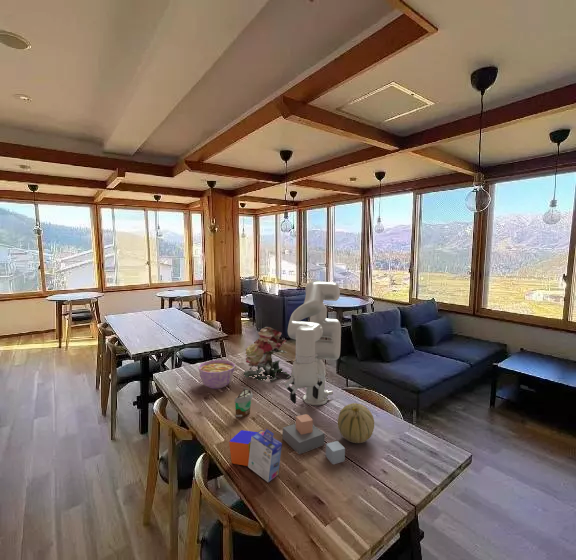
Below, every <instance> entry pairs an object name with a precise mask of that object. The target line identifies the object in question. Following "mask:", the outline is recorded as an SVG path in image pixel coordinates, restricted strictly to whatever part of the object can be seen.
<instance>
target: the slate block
mask: <svg viewBox="0 0 576 560" xmlns="http://www.w3.org/2000/svg"><path fill="white" fill-rule="evenodd" d="M345 456H346V448H345V447H344V446H343V445H342V443H340V442H339V440H335V441H331V442H327V443H325V457H326V459H327V460H328V461H329V462H330V463H331V464H332V465H336V464H339V463H344V462H345Z"/></svg>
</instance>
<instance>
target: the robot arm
mask: <svg viewBox="0 0 576 560" xmlns="http://www.w3.org/2000/svg"><path fill="white" fill-rule="evenodd" d="M340 294H341V290H340V287H339V284H338V283H336V282H333V281H312V282H311V283H309V284H307V285H306V286H305V297H304V301H303V304H301V305H299V306H298V307H297V308H296V309H294V311H293V312H292V313H291V316H290V318H289V321H288V326H287V335H288V337H289V338H290V339H293V340H295V360H294V361H292V366H291V373H290V375H291V377H289V378H288V379H287V380H286V381H285V382H284V383H283V384H284V387H285V388H286V389H287V391H288V392H290V393H289V394H290V395H289V398H290V399H289V400H290V401H291V402H292V403H293V404H294V405H295V404H296V403H297V394H296V392H297V391H298V389H304V388H305V389H306V390H305V394H304V395H302V400H303V402H304V403H306V404H307V405H311V406H322V405H325V404H326V403H328V401H329V399H328V396H333V395H334V391H333V390H328V389H326V366H325V363H324V361H323V360H327V361H328V360H329V361H337V360H338V359H340V356H341V344H342V343H341V342H342V341H341V339H342V338H341V337H342V326H341V325H342V324H341V322H340V320H338V319H337V318H327V316H328V309H327V307H326V305H325V303H324V301H327V302H329V301H331V302H337V301H338V300H339V299H340ZM306 318H309V321H302V320H304V319H306ZM321 338H330V339H331V340H330V339H329V340H328V339H321ZM290 385H291V386H290Z"/></svg>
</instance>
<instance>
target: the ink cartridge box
mask: <svg viewBox="0 0 576 560" xmlns="http://www.w3.org/2000/svg"><path fill="white" fill-rule="evenodd" d="M257 432H258V433H256V434H255V435H253V436H251V445H250V454H249V463H248V466H247V468H249V469H250V470H251V471H253V472H254V473H255V474H256V475H258V476H259V477H261V478H262V479H263V480H264V481H265V482H266V483H270V482H271V481H273V480H274V479H275V478H276V477H277V476H279V471H280V463H281V455H282V447H283V442H281V441H280V440H278V439H276V438H275V437H274V436H275V433H274V432H272V431H271V430H269V429H268V428H266V429H265V430H262V429H261V430H260V431H257Z"/></svg>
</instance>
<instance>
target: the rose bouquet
mask: <svg viewBox="0 0 576 560" xmlns="http://www.w3.org/2000/svg"><path fill="white" fill-rule="evenodd" d="M257 334H258V336H259V337H258V339H256V340H255V341H254V342H253V343H251V344H249V345H248V346H247V347H246V348H245V360H246V361H245V362H246V363H247V365H248V367H249V369H248V370H244V372H243V375H245V376H244V377H245V378H247V379H249V378H248V377H249V376H252V377H255V376H254V375H257V377H255V378H254V379H253V380H255V379H258V380H260V381H262V380H263V379H265V380H266V379H267V377H266V376H262V374H259V373H260V372H261V371H263V370H262V369H261V368H263V369H264V370H265V372H266V374H267V375H270V376H272V377H273V379H272V380H270V381H271V382H270V383H272V382H273V381H275V380H278V378H279V376H277V374H283V375H287V376H286V379H289V378H291V377H290V375H291V374H289V373H288V374H287V371H283V368H280V365H279V364H280V361H281V360H275V361H273V358H272V355H273V354H274V353H275V354H276V353H284V354H287V353H288V352H287V351H285V350H283V349H282V350H281V349H280V348H281V347H283V345H284V343H285V342H287V339H281V338H280V337H281V335H282V332H281V331H279V330H278V329H274V328H272V327H270V326H265V327H263V328H261V329H260V331H259V332H257ZM253 367H257V369H258V370H256V371H253V370H254V369H253ZM281 371H283V372H281ZM265 372H264V373H265ZM266 374H265V375H266ZM258 375H260V376H258ZM261 379H262V380H261Z"/></svg>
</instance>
